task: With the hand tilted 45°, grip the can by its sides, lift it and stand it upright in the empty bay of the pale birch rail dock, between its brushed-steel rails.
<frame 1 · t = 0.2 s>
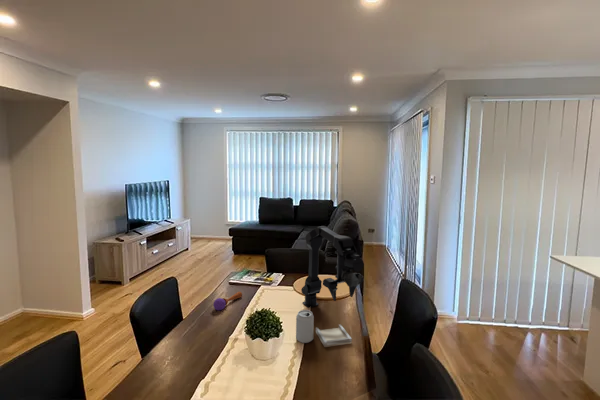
hand: (343, 298, 145), 14 cm above the table, tool pointing down, fingers open, 9 cm apart
rail dock: (333, 337, 140), on the table
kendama: (228, 304, 171), on the table
can: (304, 339, 139), on the table
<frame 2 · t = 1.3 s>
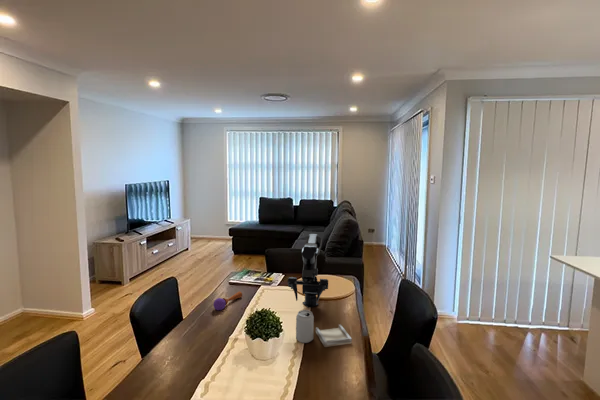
hand: (306, 301, 145), 13 cm above the table, tool tilted 45°, fingers open, 9 cm apart
nothing on the table moved.
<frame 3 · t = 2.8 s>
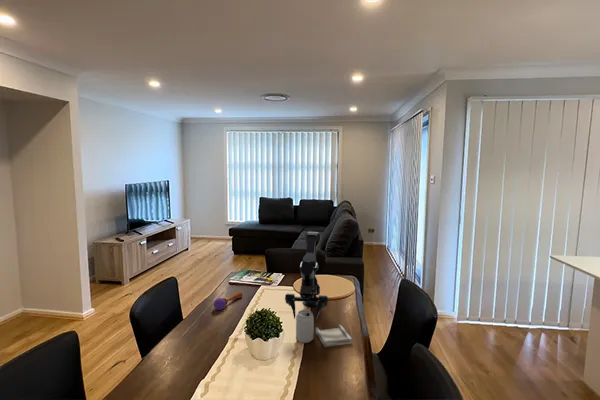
hand: (305, 319, 138), 9 cm above the table, tool tilted 45°, fingers open, 9 cm apart
nothing on the table moved.
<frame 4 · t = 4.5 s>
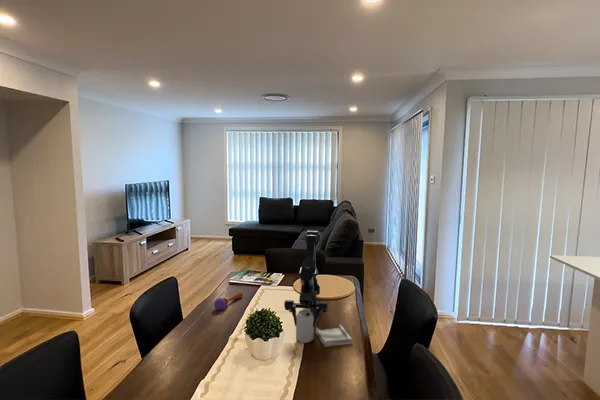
hand: (304, 326, 136), 7 cm above the table, tool tilted 45°, fingers closed on can, 7 cm apart
can: (304, 339, 139), on the table, touching gripper
everything else where it was.
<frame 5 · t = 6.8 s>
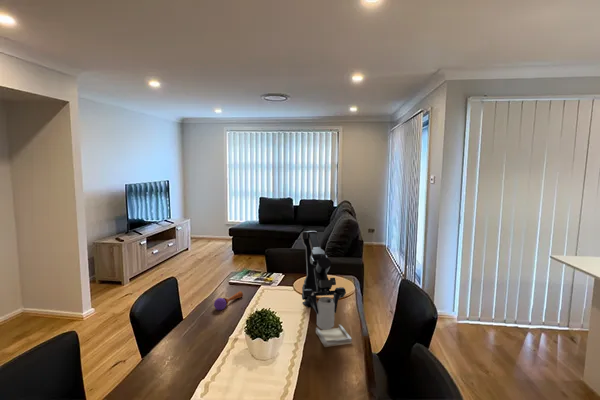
hand: (326, 313, 136), 12 cm above the table, tool tilted 45°, fingers closed on can, 7 cm apart
can: (325, 326, 139), point 5 cm above the table, touching gripper
everything else where it was.
when the fingers open (8 cm above the table, at t = 9.1 s): can drops 1 cm, resting on rail dock.
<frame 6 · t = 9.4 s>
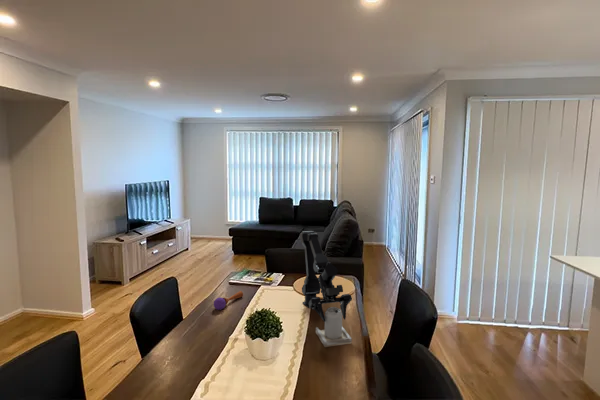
hand: (334, 320, 138), 9 cm above the table, tool tilted 45°, fingers open, 9 cm apart
can: (332, 336, 140), resting on rail dock
everything else where it was.
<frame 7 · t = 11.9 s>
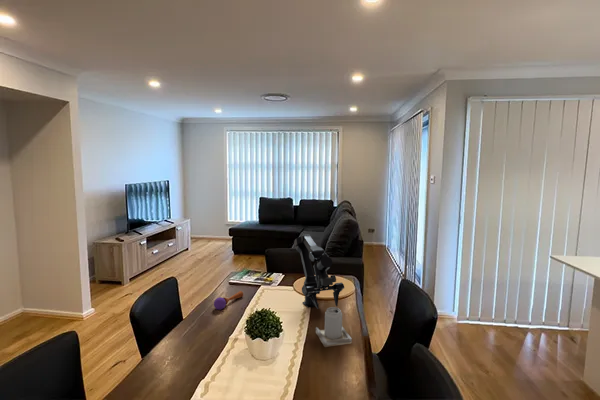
hand: (327, 307, 148), 9 cm above the table, tool tilted 35°, fingers open, 9 cm apart
nothing on the table moved.
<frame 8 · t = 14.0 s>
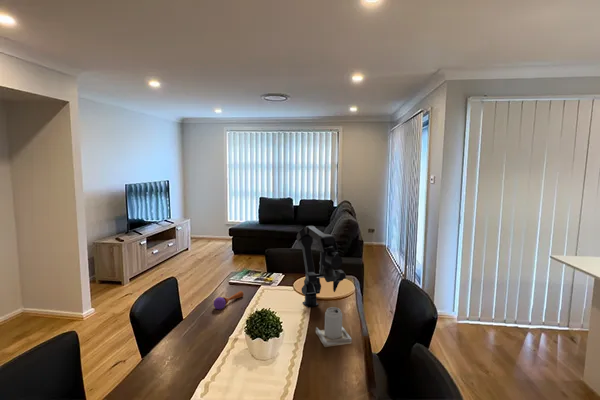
hand: (325, 292, 155), 13 cm above the table, tool pointing down, fingers open, 9 cm apart
nothing on the table moved.
at the end: can 0.2 cm off-centre on the rail dock, point 0.4 cm above the rail dock's base; can tilted 0°; the gripper is holding nothing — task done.
